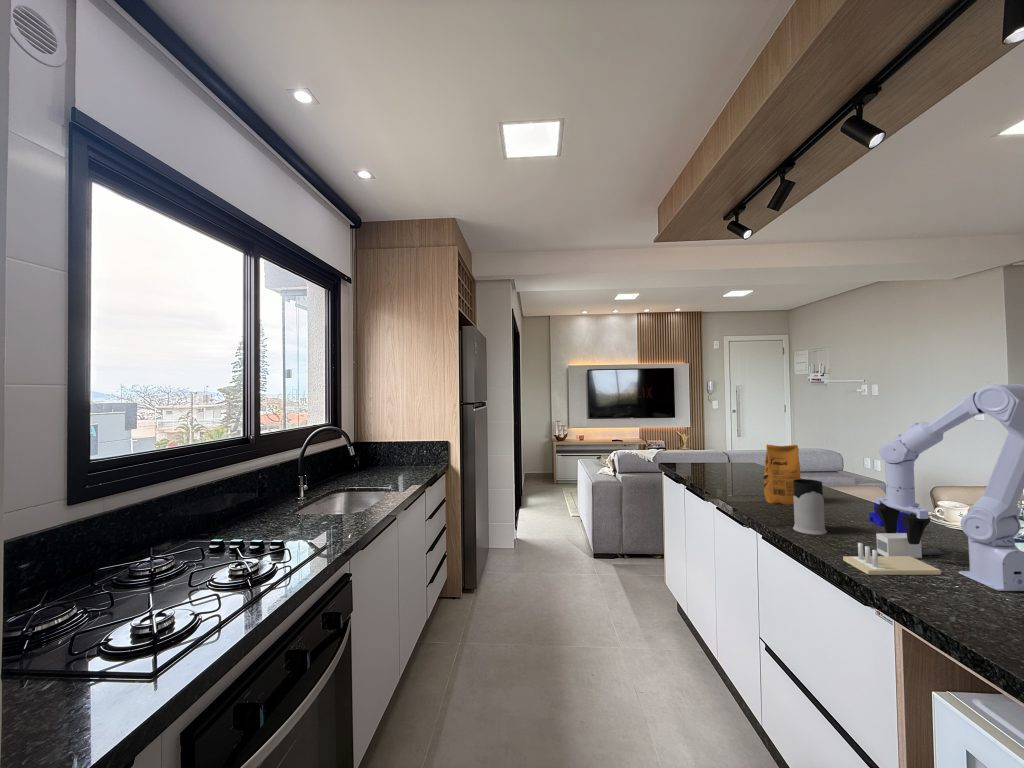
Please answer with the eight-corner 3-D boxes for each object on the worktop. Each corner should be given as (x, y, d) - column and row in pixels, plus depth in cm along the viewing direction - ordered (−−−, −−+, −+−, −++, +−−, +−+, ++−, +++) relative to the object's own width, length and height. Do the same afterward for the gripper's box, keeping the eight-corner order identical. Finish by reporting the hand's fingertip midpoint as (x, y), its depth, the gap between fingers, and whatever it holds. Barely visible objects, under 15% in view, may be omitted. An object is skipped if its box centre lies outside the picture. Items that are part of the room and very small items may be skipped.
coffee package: (763, 497, 180) (760, 442, 181) (799, 500, 175) (797, 443, 176) (765, 503, 171) (762, 445, 172) (803, 506, 166) (801, 446, 166)
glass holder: (799, 534, 136) (797, 484, 136) (782, 520, 150) (780, 475, 150) (832, 535, 134) (830, 484, 134) (812, 521, 148) (810, 475, 148)
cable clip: (869, 521, 146) (868, 503, 146) (885, 521, 145) (884, 503, 146) (892, 533, 135) (891, 513, 135) (909, 533, 134) (909, 513, 134)
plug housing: (947, 557, 115) (945, 537, 115) (888, 558, 116) (887, 538, 116) (933, 552, 119) (932, 532, 119) (876, 552, 120) (875, 533, 120)
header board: (941, 574, 105) (940, 553, 105) (868, 574, 106) (867, 553, 106) (909, 560, 114) (909, 540, 114) (843, 560, 115) (842, 540, 115)
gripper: (940, 492, 110) (942, 548, 110) (894, 480, 124) (896, 529, 124) (909, 493, 111) (912, 548, 110) (867, 480, 125) (869, 530, 125)
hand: (902, 538), depth 117 cm, fingers open, 7 cm apart
